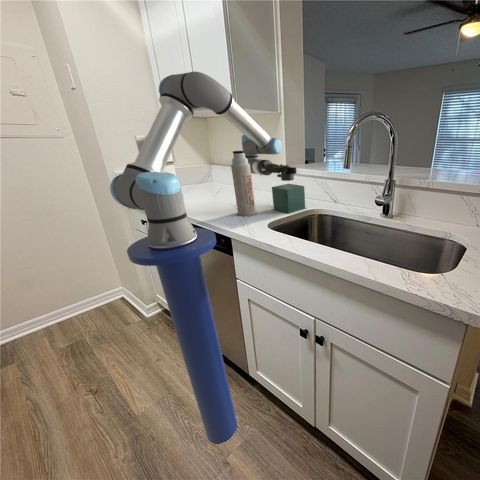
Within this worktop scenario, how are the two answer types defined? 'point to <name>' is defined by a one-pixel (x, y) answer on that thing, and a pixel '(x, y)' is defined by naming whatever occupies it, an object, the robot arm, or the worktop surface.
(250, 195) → the thermos bottle
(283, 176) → the nozzle
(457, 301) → the worktop surface
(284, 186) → the dark teal foam cube
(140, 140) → the display case
